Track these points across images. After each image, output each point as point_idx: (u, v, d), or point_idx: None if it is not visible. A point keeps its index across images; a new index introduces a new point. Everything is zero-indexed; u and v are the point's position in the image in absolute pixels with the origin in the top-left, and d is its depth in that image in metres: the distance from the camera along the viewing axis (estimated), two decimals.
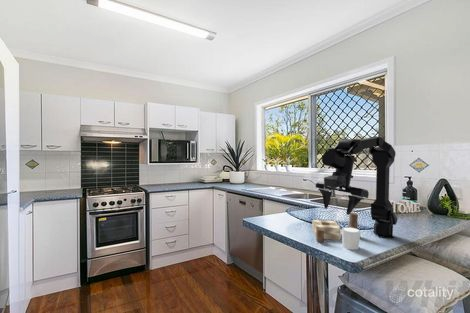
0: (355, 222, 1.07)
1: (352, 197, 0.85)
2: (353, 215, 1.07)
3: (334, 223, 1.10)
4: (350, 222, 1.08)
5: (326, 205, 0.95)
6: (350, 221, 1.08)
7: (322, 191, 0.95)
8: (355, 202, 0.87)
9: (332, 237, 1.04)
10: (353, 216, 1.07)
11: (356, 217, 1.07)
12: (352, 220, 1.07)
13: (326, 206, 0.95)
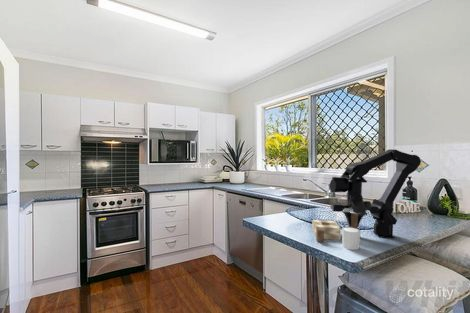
0: (355, 222, 1.07)
1: (364, 214, 1.05)
2: (353, 215, 1.07)
3: (334, 223, 1.10)
4: None
5: None
6: None
7: (349, 214, 1.06)
8: None
9: (332, 237, 1.04)
10: (353, 216, 1.07)
11: (356, 217, 1.07)
12: (352, 220, 1.07)
13: None
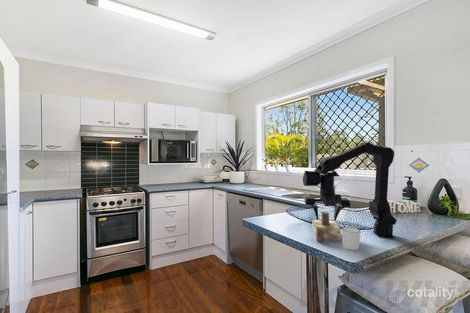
0: (326, 221, 1.08)
1: (341, 208, 1.05)
2: (324, 214, 1.08)
3: (334, 223, 1.10)
4: (322, 221, 1.09)
5: None
6: (322, 220, 1.09)
7: (316, 207, 1.07)
8: None
9: (332, 237, 1.04)
10: (324, 215, 1.08)
11: (327, 216, 1.08)
12: (323, 219, 1.08)
13: (317, 218, 1.09)
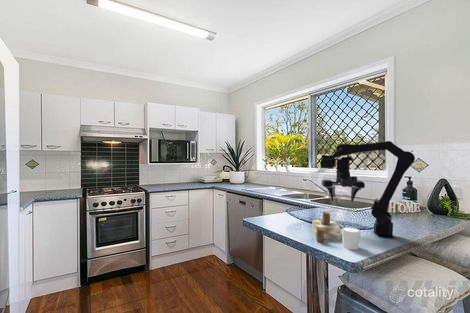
0: (327, 221, 1.08)
1: (358, 189, 1.15)
2: (325, 214, 1.08)
3: (334, 223, 1.10)
4: (323, 221, 1.09)
5: (332, 198, 1.19)
6: (323, 220, 1.09)
7: (331, 188, 1.17)
8: None
9: (332, 237, 1.04)
10: (325, 215, 1.08)
11: (328, 216, 1.07)
12: (324, 219, 1.08)
13: None
